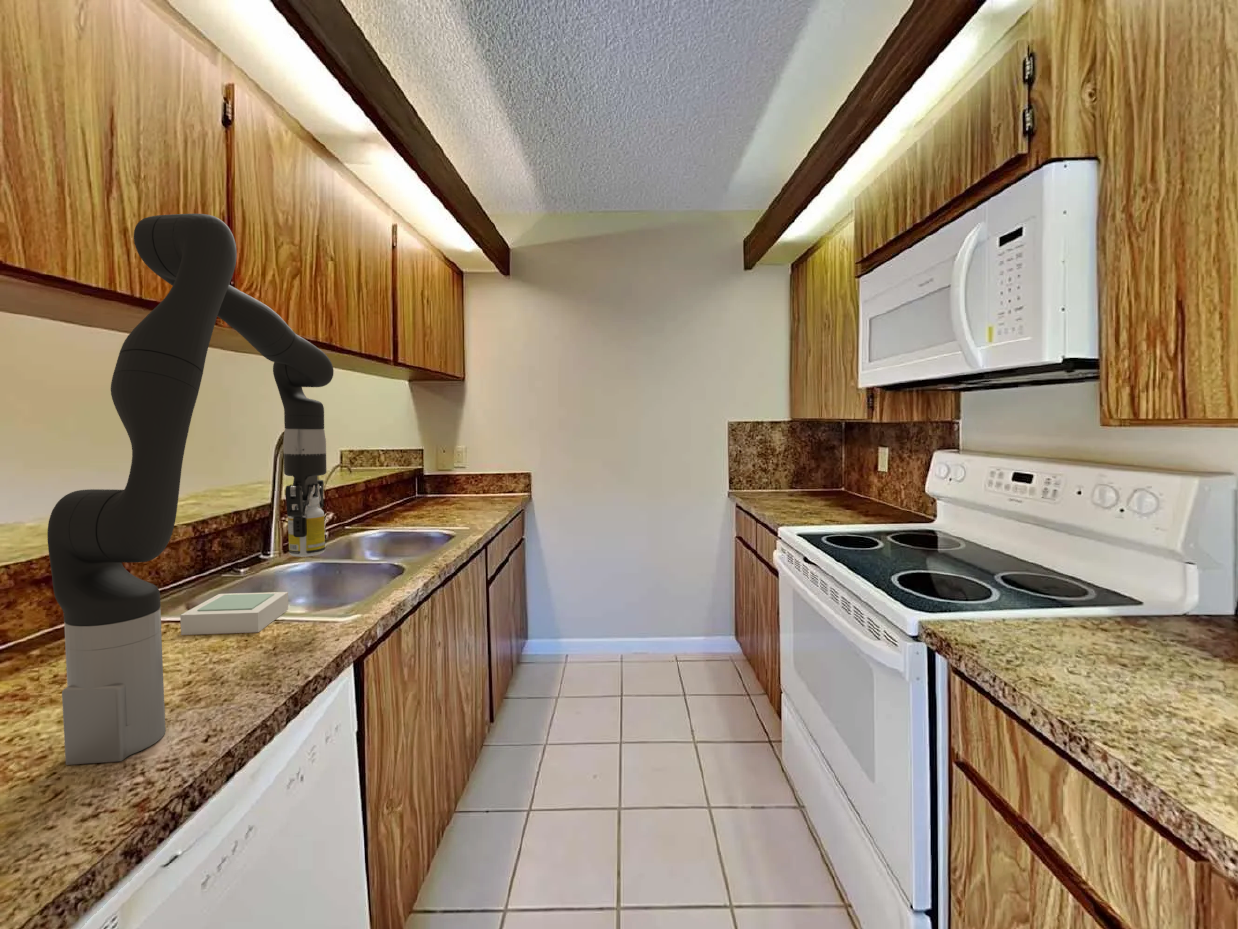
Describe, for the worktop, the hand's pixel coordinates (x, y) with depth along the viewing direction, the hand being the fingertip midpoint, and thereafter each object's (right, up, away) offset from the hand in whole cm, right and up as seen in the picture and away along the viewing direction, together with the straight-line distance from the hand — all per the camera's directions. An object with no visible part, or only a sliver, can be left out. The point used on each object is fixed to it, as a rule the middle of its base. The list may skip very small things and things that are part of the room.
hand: (306, 533), depth 115 cm
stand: (-17, -19, +4) cm, 25 cm away
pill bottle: (0, -4, 0) cm, 4 cm away
